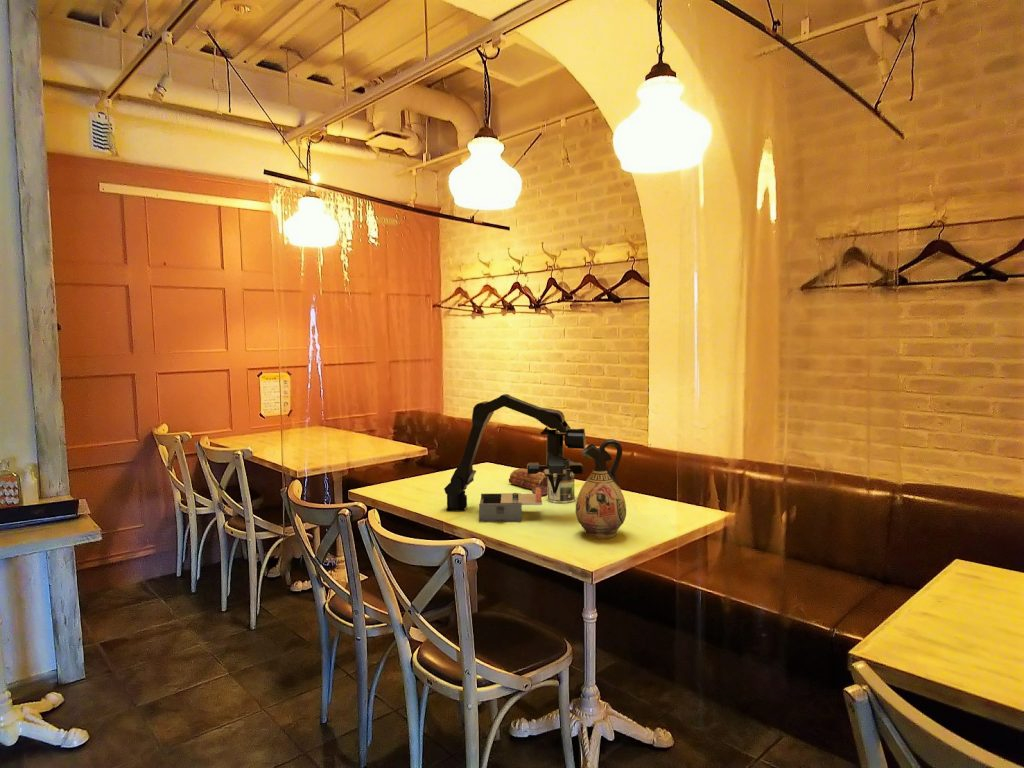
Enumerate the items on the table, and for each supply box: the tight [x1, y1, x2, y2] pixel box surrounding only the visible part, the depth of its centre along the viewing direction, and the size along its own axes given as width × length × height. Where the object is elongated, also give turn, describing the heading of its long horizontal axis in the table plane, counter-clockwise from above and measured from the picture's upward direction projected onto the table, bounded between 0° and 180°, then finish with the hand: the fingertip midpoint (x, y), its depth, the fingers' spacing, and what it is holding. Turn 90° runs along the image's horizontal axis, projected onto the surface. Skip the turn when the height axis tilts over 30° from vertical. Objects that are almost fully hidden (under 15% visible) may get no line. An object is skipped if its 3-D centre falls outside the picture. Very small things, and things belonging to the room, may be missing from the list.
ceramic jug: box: [575, 438, 627, 540], centre depth 196 cm, size 17×15×30 cm
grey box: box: [478, 492, 523, 523], centre depth 218 cm, size 14×19×6 cm
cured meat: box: [508, 468, 548, 497], centre depth 256 cm, size 18×25×7 cm
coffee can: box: [547, 460, 576, 504], centre depth 239 cm, size 10×10×14 cm
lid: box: [500, 487, 543, 506], centre depth 218 cm, size 14×12×3 cm
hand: (554, 493), depth 218 cm, fingers closed
